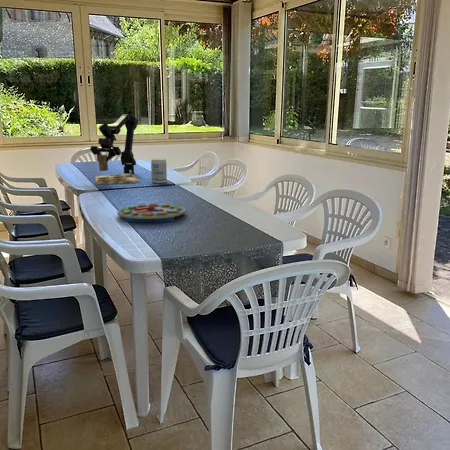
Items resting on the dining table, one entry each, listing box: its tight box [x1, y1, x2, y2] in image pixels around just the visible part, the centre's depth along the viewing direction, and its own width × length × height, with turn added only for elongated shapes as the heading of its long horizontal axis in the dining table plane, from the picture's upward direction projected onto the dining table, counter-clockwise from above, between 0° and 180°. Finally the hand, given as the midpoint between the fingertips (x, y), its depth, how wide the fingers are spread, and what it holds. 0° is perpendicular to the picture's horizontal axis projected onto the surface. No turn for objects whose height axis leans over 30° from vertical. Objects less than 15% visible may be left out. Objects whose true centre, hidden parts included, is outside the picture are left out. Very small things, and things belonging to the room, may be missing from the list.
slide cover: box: [120, 170, 134, 176], centre depth 292 cm, size 7×7×3 cm
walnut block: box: [98, 154, 109, 172], centre depth 275 cm, size 4×4×10 cm
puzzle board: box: [95, 173, 139, 186], centre depth 285 cm, size 26×22×3 cm
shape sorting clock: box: [116, 202, 186, 223], centre depth 201 cm, size 31×30×6 cm
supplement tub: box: [150, 157, 168, 184], centre depth 279 cm, size 10×10×15 cm
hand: (102, 161), depth 273 cm, fingers closed on walnut block, 5 cm apart
